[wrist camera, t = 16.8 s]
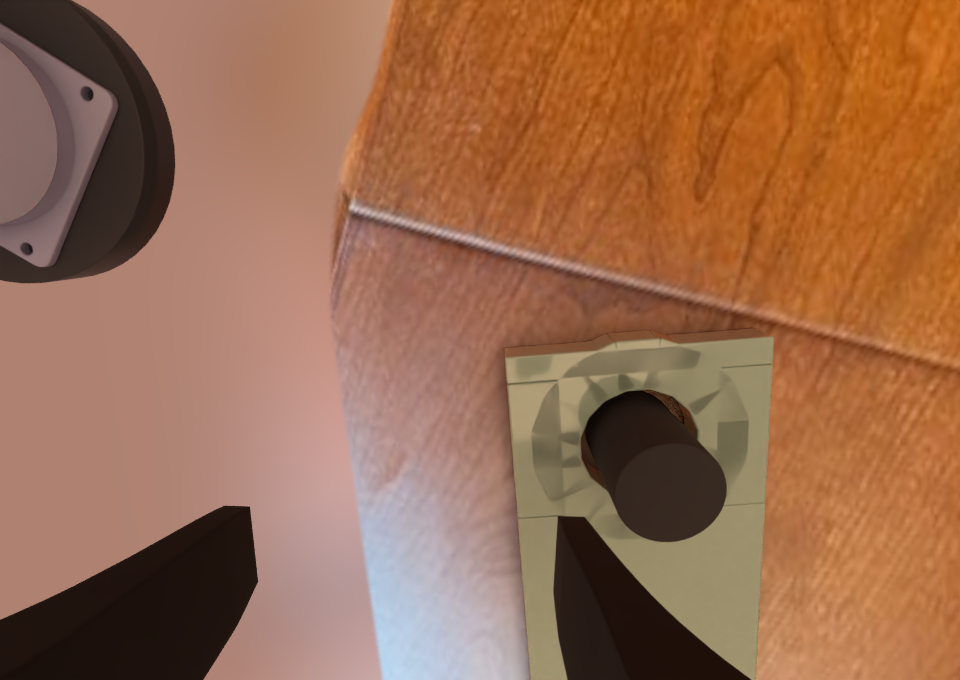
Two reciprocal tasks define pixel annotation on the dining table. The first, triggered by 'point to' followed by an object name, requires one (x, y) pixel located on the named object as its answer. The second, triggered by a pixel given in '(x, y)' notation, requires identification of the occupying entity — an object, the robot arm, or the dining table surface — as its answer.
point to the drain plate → (582, 492)
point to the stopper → (655, 468)
